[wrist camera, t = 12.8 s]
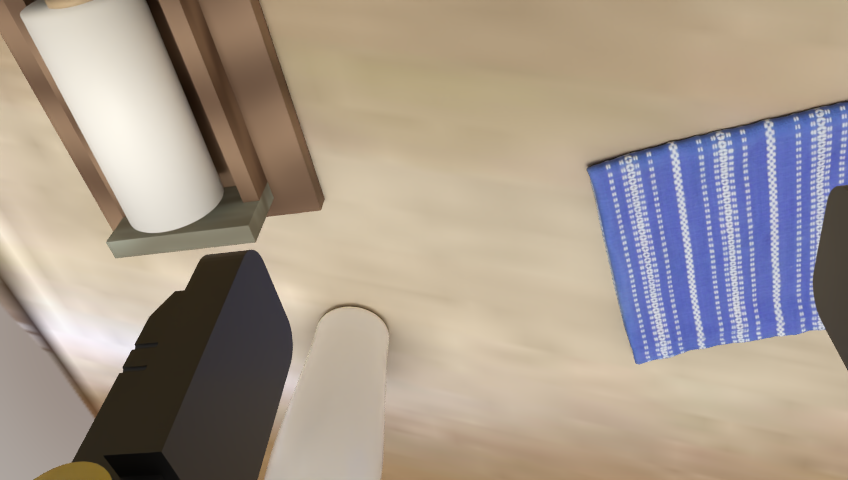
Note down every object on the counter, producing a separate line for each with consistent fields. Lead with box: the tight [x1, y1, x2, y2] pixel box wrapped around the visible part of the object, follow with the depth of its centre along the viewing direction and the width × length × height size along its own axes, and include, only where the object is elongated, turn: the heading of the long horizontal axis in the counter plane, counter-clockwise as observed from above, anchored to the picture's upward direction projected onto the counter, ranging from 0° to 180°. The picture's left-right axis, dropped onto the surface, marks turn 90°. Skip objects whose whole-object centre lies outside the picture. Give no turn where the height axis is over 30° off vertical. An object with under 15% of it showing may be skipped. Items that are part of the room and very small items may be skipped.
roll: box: [20, 0, 224, 233], centre depth 37 cm, size 13×6×6 cm, turn 10°
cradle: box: [0, 0, 324, 258], centre depth 38 cm, size 19×14×6 cm
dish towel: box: [587, 102, 848, 364], centre depth 43 cm, size 17×24×3 cm
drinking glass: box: [264, 307, 389, 480], centre depth 45 cm, size 7×7×15 cm
